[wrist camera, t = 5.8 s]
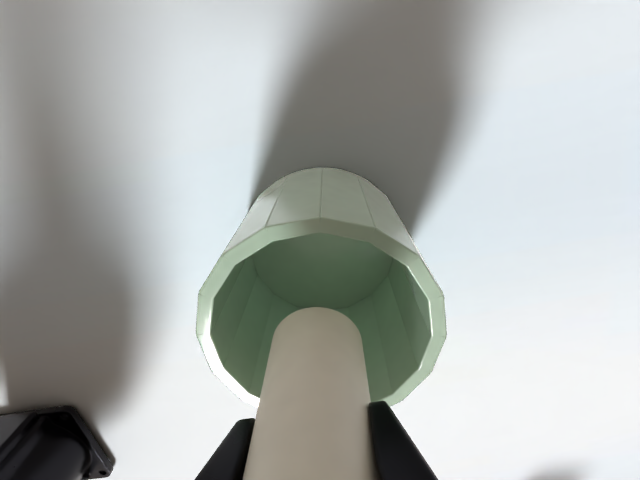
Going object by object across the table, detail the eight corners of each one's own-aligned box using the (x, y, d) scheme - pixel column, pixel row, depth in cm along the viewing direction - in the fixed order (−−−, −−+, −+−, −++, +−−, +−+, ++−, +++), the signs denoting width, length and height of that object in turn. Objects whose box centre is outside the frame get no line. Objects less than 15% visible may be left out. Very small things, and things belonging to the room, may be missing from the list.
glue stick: (371, 372, 11) (453, 884, 4) (282, 385, 12) (209, 887, 4) (357, 295, 10) (436, 816, 3) (258, 311, 11) (104, 824, 3)
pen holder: (409, 299, 19) (452, 407, 12) (266, 321, 20) (237, 435, 13) (392, 151, 16) (437, 195, 9) (223, 185, 17) (157, 246, 10)
